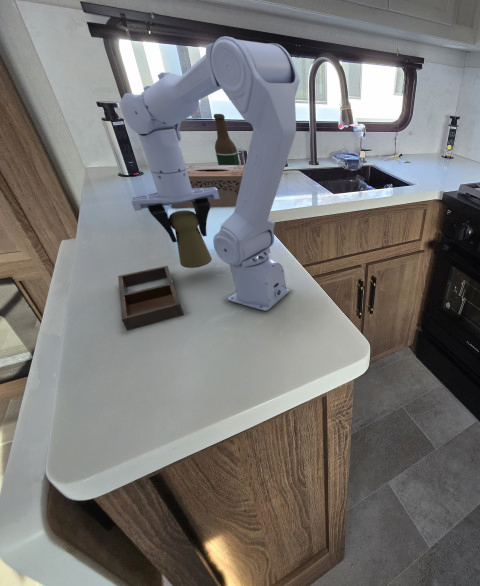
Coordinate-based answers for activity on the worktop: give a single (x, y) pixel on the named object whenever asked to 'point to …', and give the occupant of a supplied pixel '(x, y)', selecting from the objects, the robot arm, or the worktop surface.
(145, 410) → the worktop surface
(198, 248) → the cork
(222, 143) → the brown beer bottle
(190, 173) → the tissue box cover
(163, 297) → the caddy
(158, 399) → the worktop surface
